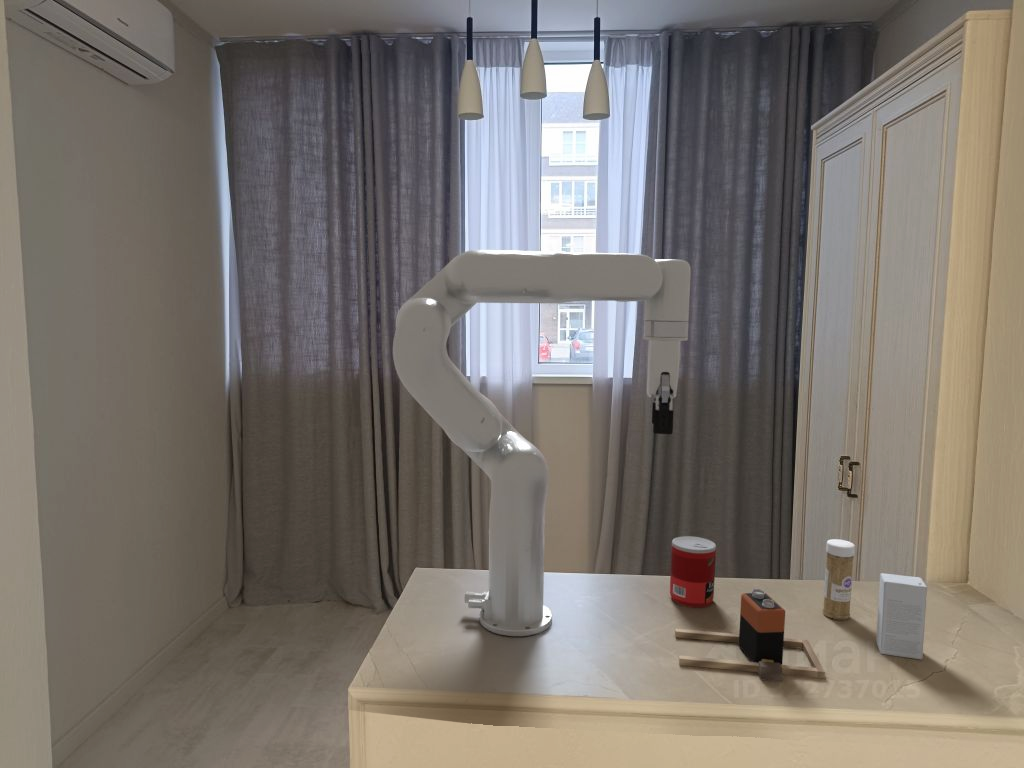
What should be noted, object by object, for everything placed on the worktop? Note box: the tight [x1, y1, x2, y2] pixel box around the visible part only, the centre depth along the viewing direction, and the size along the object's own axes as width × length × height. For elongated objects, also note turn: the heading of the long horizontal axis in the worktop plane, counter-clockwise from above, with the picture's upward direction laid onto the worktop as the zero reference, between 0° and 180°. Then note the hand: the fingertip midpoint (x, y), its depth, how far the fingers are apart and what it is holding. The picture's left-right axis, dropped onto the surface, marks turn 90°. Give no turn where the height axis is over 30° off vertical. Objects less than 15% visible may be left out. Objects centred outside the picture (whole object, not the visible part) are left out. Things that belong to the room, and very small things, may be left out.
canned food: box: [669, 535, 717, 608], centre depth 128 cm, size 8×8×11 cm
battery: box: [738, 588, 786, 665], centre depth 107 cm, size 4×7×10 cm, turn 5°
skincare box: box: [876, 572, 928, 660], centre depth 110 cm, size 6×4×12 cm
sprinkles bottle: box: [822, 538, 856, 621], centre depth 122 cm, size 5×5×13 cm
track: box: [674, 628, 826, 682], centre depth 107 cm, size 21×12×2 cm, turn 80°
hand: (661, 428), depth 121 cm, fingers open, 9 cm apart
